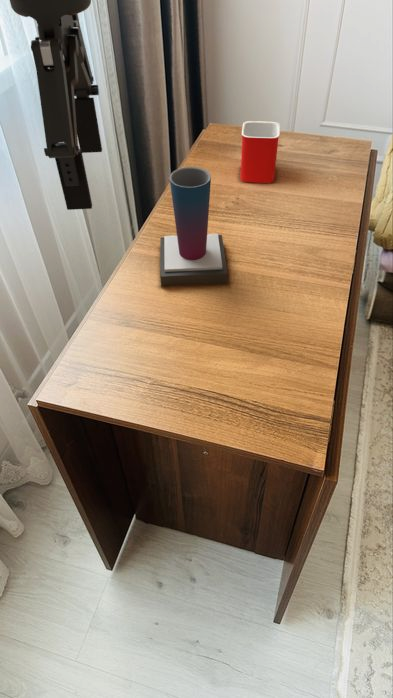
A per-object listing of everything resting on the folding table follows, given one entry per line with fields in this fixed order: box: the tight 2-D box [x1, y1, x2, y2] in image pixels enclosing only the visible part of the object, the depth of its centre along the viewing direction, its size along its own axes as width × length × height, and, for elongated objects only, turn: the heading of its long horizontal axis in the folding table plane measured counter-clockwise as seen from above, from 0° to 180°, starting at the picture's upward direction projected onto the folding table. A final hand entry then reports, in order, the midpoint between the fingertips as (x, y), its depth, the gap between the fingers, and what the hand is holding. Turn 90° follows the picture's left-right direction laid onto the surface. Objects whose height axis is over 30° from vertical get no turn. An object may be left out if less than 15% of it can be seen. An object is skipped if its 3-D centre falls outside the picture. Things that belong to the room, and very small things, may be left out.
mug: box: [239, 120, 281, 184], centre depth 115 cm, size 12×8×11 cm
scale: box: [159, 233, 228, 288], centre depth 94 cm, size 12×12×3 cm
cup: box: [169, 166, 212, 260], centre depth 87 cm, size 7×7×15 cm
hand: (86, 177), depth 60 cm, fingers open, 13 cm apart
